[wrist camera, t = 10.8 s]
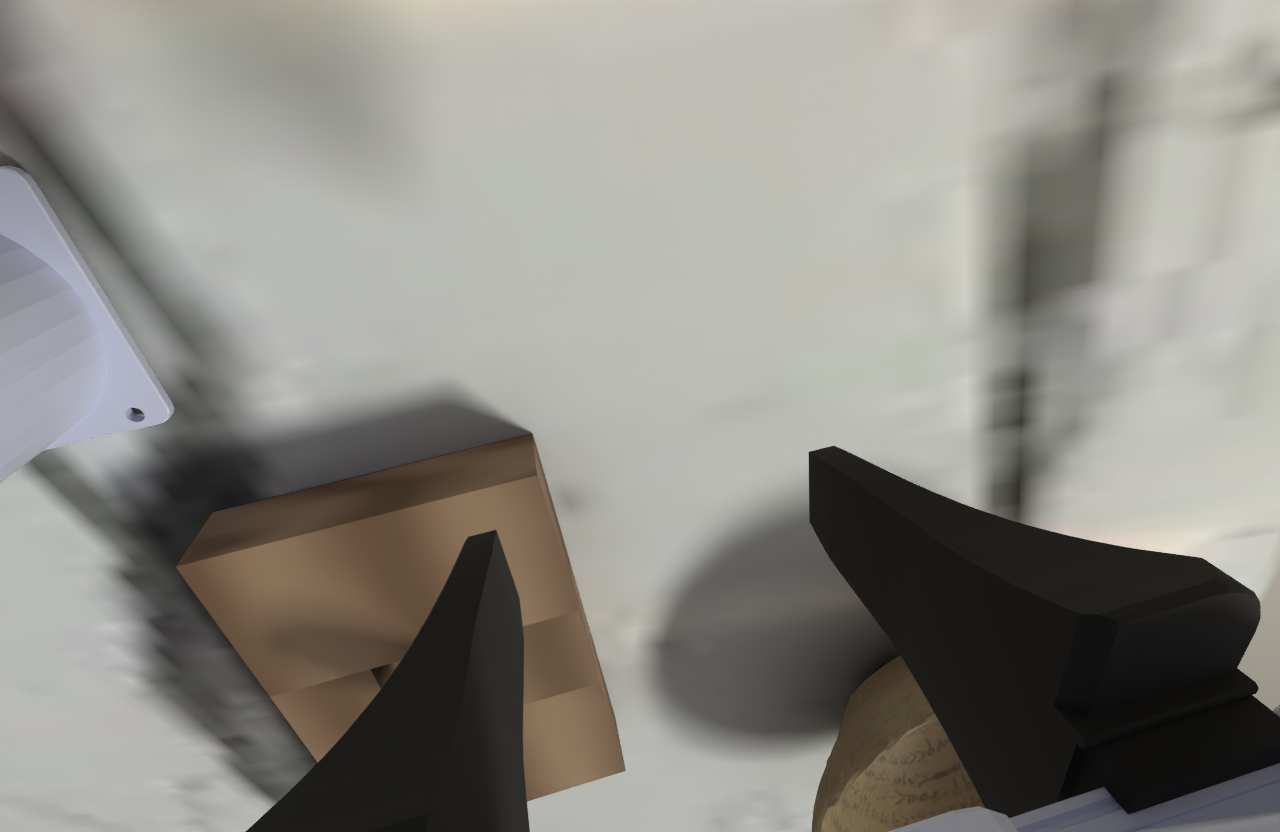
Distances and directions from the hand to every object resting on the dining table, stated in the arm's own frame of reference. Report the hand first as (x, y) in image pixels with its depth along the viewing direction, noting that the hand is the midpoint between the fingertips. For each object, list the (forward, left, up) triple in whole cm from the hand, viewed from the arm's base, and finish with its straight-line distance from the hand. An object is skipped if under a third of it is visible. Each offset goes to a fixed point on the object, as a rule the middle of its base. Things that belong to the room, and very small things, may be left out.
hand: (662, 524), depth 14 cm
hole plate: (-9, -12, -10) cm, 18 cm away
